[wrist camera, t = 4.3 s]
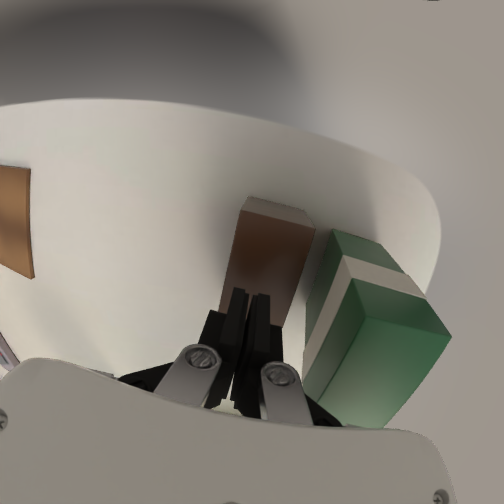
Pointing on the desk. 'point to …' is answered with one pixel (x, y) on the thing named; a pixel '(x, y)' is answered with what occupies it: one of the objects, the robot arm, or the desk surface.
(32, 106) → the desk surface
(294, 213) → the block
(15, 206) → the coaster
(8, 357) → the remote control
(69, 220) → the desk surface
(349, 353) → the block
